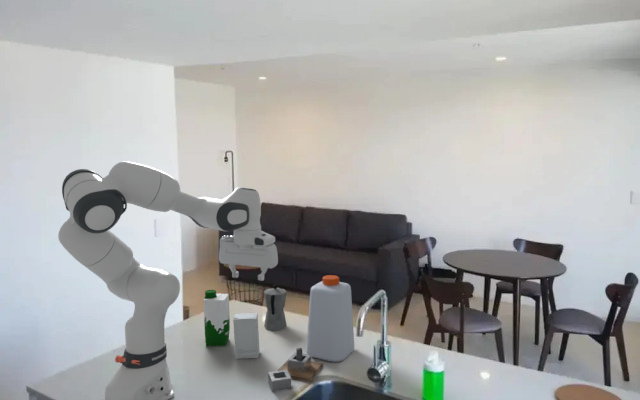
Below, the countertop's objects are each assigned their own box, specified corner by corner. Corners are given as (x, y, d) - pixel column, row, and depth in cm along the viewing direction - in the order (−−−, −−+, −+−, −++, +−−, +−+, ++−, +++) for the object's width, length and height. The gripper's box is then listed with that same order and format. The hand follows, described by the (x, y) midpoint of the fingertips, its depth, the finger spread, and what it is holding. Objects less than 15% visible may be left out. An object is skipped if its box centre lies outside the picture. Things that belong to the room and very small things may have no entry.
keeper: (309, 381, 154) (309, 359, 153) (275, 375, 159) (275, 353, 158) (322, 365, 165) (322, 344, 165) (290, 360, 170) (290, 339, 169)
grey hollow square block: (304, 373, 158) (304, 362, 158) (287, 369, 160) (287, 359, 160) (311, 365, 164) (311, 355, 163) (295, 362, 166) (295, 352, 165)
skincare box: (259, 351, 177) (259, 312, 175) (258, 359, 171) (257, 318, 169) (236, 352, 176) (235, 312, 174) (234, 359, 170) (233, 318, 168)
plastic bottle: (321, 340, 186) (321, 269, 183) (358, 348, 179) (358, 274, 176) (302, 356, 173) (301, 279, 169) (340, 365, 166) (341, 285, 163)
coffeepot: (266, 320, 207) (266, 279, 205) (288, 321, 207) (288, 279, 204) (260, 335, 192) (260, 290, 190) (284, 335, 191) (284, 291, 189)
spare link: (291, 388, 150) (291, 378, 150) (272, 391, 148) (272, 381, 148) (286, 379, 156) (286, 369, 155) (268, 382, 154) (268, 372, 153)
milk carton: (208, 337, 189) (207, 287, 187) (231, 337, 189) (230, 287, 186) (202, 347, 180) (201, 294, 178) (227, 347, 180) (225, 295, 178)
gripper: (214, 236, 158) (215, 278, 160) (271, 241, 151) (271, 284, 153) (224, 233, 164) (225, 273, 166) (279, 237, 157) (280, 279, 159)
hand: (248, 278), depth 159 cm, fingers open, 8 cm apart
